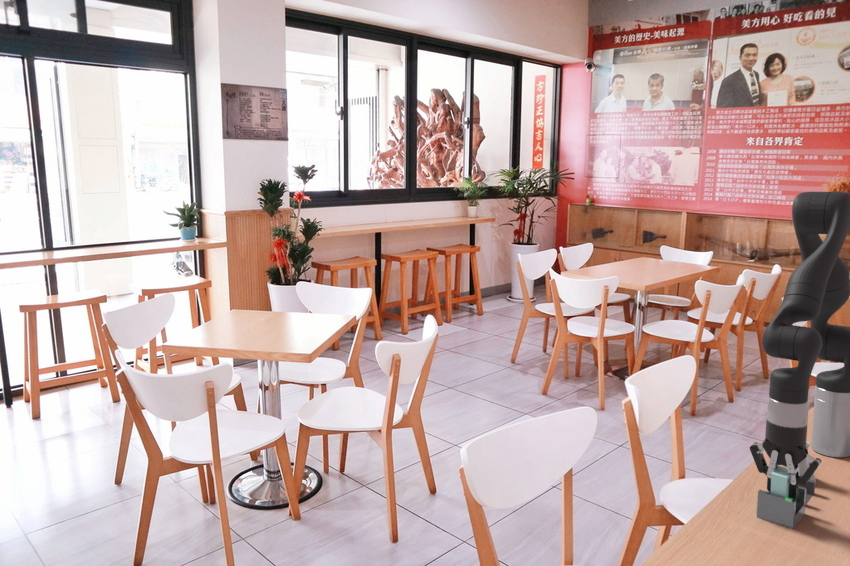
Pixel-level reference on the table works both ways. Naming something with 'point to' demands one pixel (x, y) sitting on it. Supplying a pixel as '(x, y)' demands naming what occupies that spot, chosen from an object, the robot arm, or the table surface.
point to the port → (781, 508)
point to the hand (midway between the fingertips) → (781, 495)
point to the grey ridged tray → (809, 489)
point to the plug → (780, 481)
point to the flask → (805, 466)
